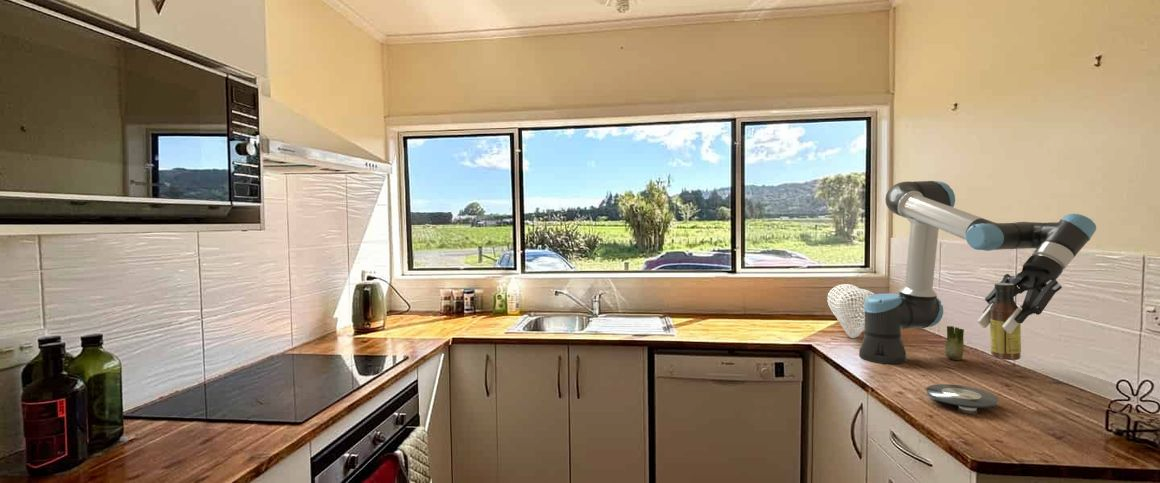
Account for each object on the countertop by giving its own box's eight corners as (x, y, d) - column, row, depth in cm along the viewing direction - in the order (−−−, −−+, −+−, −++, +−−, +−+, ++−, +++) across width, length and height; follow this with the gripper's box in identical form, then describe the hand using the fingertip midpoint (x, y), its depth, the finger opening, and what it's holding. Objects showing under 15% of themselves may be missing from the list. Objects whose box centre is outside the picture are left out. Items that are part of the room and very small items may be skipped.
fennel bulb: (965, 361, 184) (966, 328, 183) (950, 361, 184) (951, 328, 184) (956, 357, 189) (957, 324, 189) (942, 357, 190) (942, 324, 190)
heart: (822, 330, 236) (822, 282, 235) (858, 330, 234) (858, 282, 233) (845, 346, 209) (845, 291, 208) (886, 346, 207) (887, 291, 206)
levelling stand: (912, 396, 151) (912, 386, 151) (961, 392, 153) (961, 382, 153) (960, 417, 135) (961, 405, 135) (1013, 412, 138) (1014, 401, 137)
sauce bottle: (1021, 356, 138) (1023, 283, 136) (1020, 362, 133) (1022, 286, 132) (989, 352, 142) (991, 281, 141) (987, 358, 138) (990, 284, 136)
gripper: (1095, 276, 130) (1039, 345, 128) (1019, 268, 148) (969, 328, 147) (1078, 256, 128) (1021, 326, 127) (1003, 250, 147) (953, 311, 146)
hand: (993, 327), depth 137 cm, fingers closed on sauce bottle, 6 cm apart
